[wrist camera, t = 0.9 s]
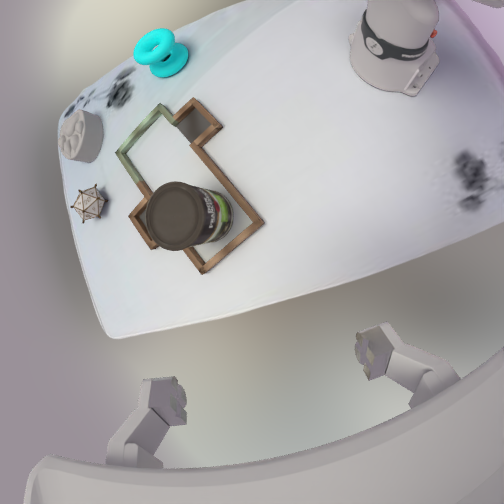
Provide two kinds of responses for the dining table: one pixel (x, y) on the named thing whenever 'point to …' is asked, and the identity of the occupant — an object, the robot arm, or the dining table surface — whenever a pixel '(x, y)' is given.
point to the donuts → (161, 52)
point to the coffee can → (187, 216)
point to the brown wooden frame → (198, 133)
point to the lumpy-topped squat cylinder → (81, 137)
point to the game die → (89, 203)
